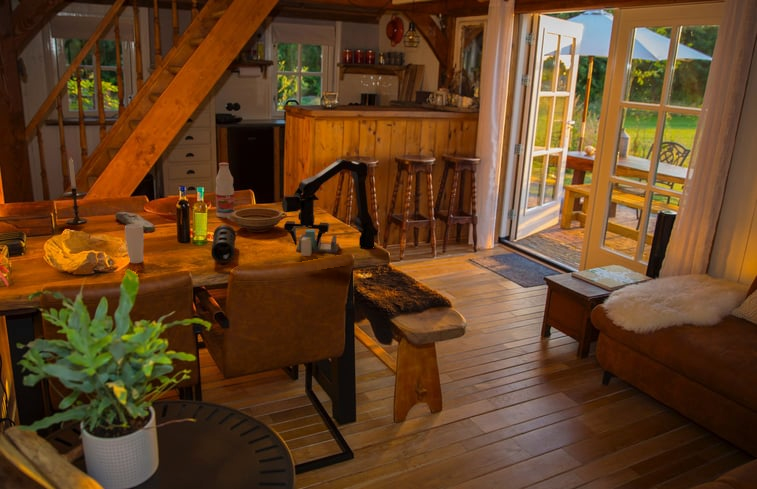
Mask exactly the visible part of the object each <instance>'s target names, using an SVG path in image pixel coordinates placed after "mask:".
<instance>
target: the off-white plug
mask: <svg viewBox="0 0 757 489" xmlns="http://www.w3.org/2000/svg"><path fill="white" fill-rule="evenodd" d="M312 253H313V252H312V238H305V237H303V238H302V239H301V252H300V256H301V257H302V256H303V257H304V256H307V257H311V256H312Z"/></svg>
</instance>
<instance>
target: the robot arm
mask: <svg viewBox="0 0 757 489" xmlns="http://www.w3.org/2000/svg"><path fill="white" fill-rule="evenodd" d="M368 168H369V167H368V165H367V163H365V162H362V161H359V160H353V161H349V160H345V159H341V158H338V159H336V161H334V162H333V163H332V164H330V165H329V166H327V167H326V168H324V169H323V170H321V171H320V172H318V173H317V174H315V175H313V176H310V177H308V178H305V179H303V180H301V181H300V182H299V183H298V187H297V189H296V190H295V191H294V193H293V195H284V196H283V199H282V203H281V208H282V209H281V210H282V211H283V213H296V212H298V221H299V223H296V221H295V220H286V222H285V223H284V224H283V230H284V231H286V232H287V233H289V234H290V236H291V237H292V240H293V243H294V246H298V244H297V243H298V242H297V241H298V240H297V229H312V230H318V232H317V235H318V237H317V236H316V238H317V246H318V244H319V241H320V238H321V239H322V236H323V235H325V234H326V233H328V232H329V230H330V224H329V222H320V223H319V224H315V222H316V221H315V218H316V216H315V215H314V214H315V213H314V212H315V209H314V208H315V201H319V200H320V199H319V198H318V196H316V193H317V192H318V191H319V190H320V188H321V187H322V185H324V183H326V182H328V181H329V180H330V179H332V178H333V177H335V176H337V174H339V173H340V172H342V171H343V170H347V171H349V172H350V176H351V177H352V179H353V182H354V188H355V198H356V208H357V214H356V215H354V216H353V220H354V224H353V225H355V227H356V229H358V232H359V233H360V235H359V248H360V249H369V248H373V247H374V245H375V246H376V244H375V241H376V238H375V236H378V233H379V230H378V229H377V228H376V227H375V226H374V223H373V218H372V216H371V214H370V213H369V206H368V204H369V203H368V196H367V187H366V180H367V177H368V172H369V171H368ZM299 211H300V212H299ZM374 248H375V247H374Z"/></svg>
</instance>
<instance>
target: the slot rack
mask: <svg viewBox="0 0 757 489" xmlns="http://www.w3.org/2000/svg"><path fill="white" fill-rule="evenodd" d="M303 237H305V233H301V236H300V237H299V240H298V244H297V245H296V246H297V247H296V249H295V251H296V252H300V253H301V239H302V238H303ZM317 237H318V234H316V237H315V247H312V253H322V254H323V253H325V254H338V252H339V248H340V243H337V234H336V235H335V234H334V235H332V238H331V241H330V243H327V242H326V243H325V242H324V243H322V237H321V238H320V241H319V244H318V246H317Z"/></svg>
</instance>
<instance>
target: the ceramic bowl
mask: <svg viewBox="0 0 757 489" xmlns="http://www.w3.org/2000/svg"><path fill="white" fill-rule="evenodd" d="M232 215H233V217H231V216H228V217H227V220H228V221H231V222H233V223H236V224H237V225H238V226H240V227H241V228H245V229H246V231H247V232H251V233H252V232H254V233H262V232H267V231H269V230H270V228H273V227H275V226H277V225H278V224H280V222H281V221H282V220H284V219H286V218H287V217H288V213H287V212H282V211H281V210H278V209H274V208H267V207H248V208H243V209H242V208H241V209H238V210H235V212H233V213H232Z"/></svg>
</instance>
